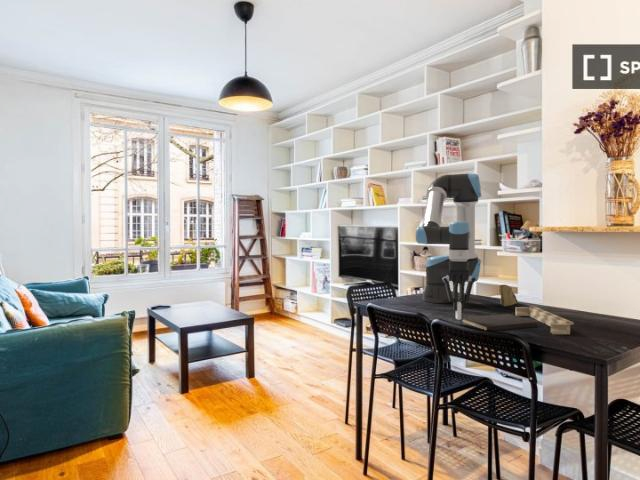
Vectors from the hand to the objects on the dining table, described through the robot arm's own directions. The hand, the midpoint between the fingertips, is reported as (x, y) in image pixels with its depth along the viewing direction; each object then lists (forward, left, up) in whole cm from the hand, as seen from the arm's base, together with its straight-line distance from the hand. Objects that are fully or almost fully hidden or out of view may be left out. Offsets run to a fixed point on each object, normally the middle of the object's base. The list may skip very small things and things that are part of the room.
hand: (458, 318), depth 171 cm
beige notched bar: (0, +33, -2) cm, 33 cm away
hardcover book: (0, +16, -3) cm, 16 cm away
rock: (-40, +37, -3) cm, 55 cm away
